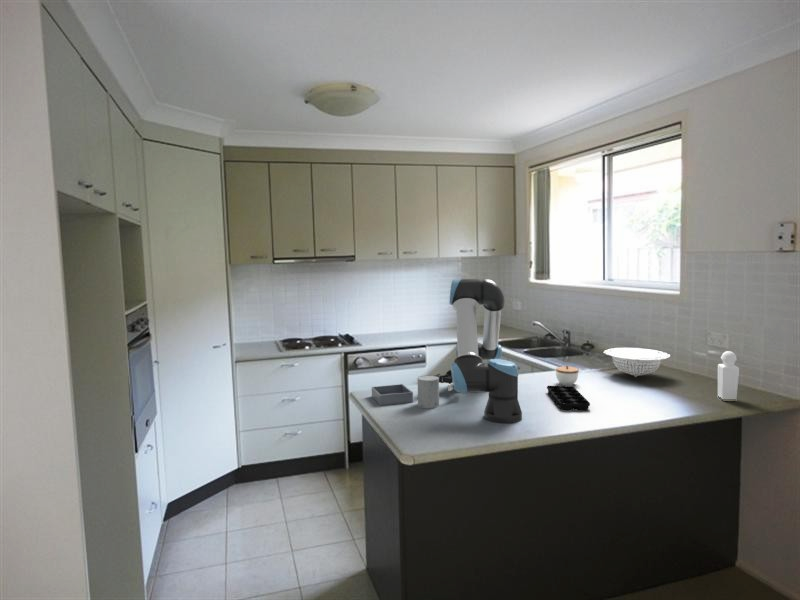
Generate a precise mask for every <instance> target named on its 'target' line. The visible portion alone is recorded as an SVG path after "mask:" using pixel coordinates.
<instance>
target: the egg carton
mask: <svg viewBox="0 0 800 600" xmlns="http://www.w3.org/2000/svg"><path fill="white" fill-rule="evenodd" d="M546 389H547V394H548V395H549V396H550V398H551V399H553V401H554V402H555V403H556V406H558V407H559V409H560V410H561V411H565V412H566V411H569V412H570V411H573V410H576V411H579V412H582V411H585V412H587V411H589V407H590V406H591V403H590V402H589V400H588V399H586V397H584V395H583V394H581V393H580V391H579V390H578V389H576V388H575V387H574V386H573V385H570V386H567V385H547V386H546Z"/></svg>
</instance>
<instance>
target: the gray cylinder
mask: <svg viewBox="0 0 800 600" xmlns="http://www.w3.org/2000/svg"><path fill="white" fill-rule="evenodd" d="M416 379H417V407H419V408H422V409H435V408H439V407H440V382H439V377H437V376H433V375H431V374H428V375H427V374H425V375H424V374H423V375H420V376H417V377H416Z"/></svg>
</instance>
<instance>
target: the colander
mask: <svg viewBox="0 0 800 600" xmlns="http://www.w3.org/2000/svg"><path fill="white" fill-rule="evenodd" d="M603 354H605V355H607V356H609V357H612V363H613V364H614V366H615V368H617V369H618V371H620V372H622V373H625V374H628V375H631V376H634V377H635V378H637V377H639V376H640V377H641V376H645V375H650V374H653V373H654V372H656V371H657V370H658V369H659V367H660V366H661V362H662V360H666V359H669V358H671V354H668V353H667V352H664V351H660V350H657V349H649V348H641V347H614V348H609V349H606V350H604V351H603Z"/></svg>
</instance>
